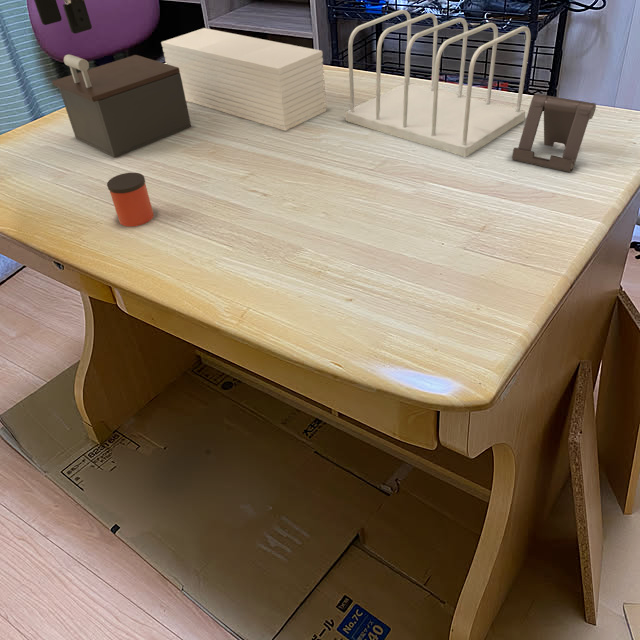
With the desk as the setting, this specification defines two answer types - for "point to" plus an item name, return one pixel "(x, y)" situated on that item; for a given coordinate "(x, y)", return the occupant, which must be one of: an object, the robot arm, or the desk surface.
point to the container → (130, 199)
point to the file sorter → (437, 96)
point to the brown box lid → (111, 76)
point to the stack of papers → (249, 76)
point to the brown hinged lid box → (129, 116)
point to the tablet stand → (555, 130)
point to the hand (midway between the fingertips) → (66, 26)
